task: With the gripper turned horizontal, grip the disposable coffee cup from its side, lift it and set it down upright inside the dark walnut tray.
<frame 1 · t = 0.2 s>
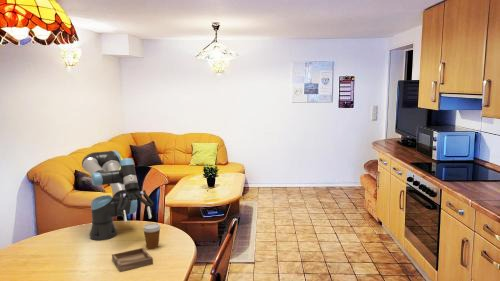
hand: (138, 220, 222), 15 cm above the table, tool tilted 35°, fingers open, 13 cm apart
walnut tray: (132, 262, 204), on the table
disposable coffee cup: (152, 247, 223), on the table
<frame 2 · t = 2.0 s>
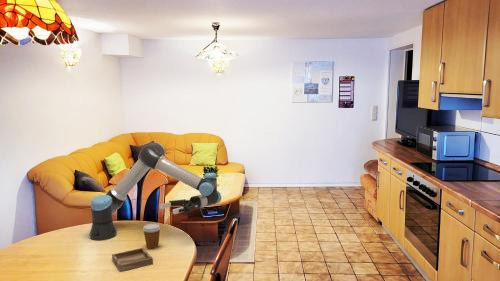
hand: (166, 209, 227), 19 cm above the table, tool horizontal, fingers open, 13 cm apart
nothing on the table moved.
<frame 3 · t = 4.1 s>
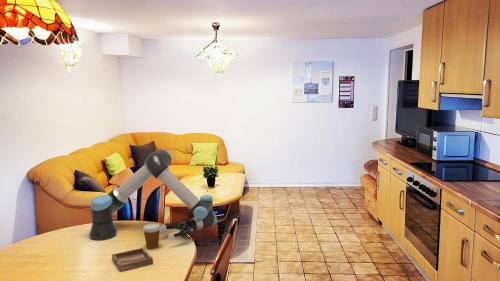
hand: (162, 233, 226), 6 cm above the table, tool horizontal, fingers open, 13 cm apart
nothing on the table moved.
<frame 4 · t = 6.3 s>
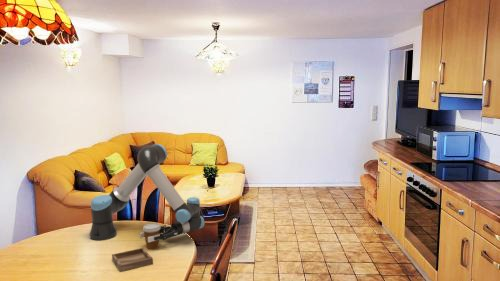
hand: (144, 237, 219), 7 cm above the table, tool horizontal, fingers closed on disposable coffee cup, 8 cm apart
disposable coffee cup: (152, 247, 223), on the table, touching gripper
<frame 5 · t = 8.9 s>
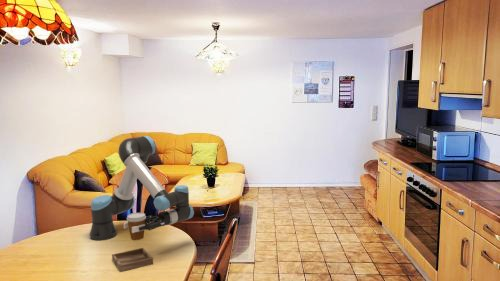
hand: (128, 228, 202), 18 cm above the table, tool horizontal, fingers closed on disposable coffee cup, 8 cm apart
disposable coffee cup: (137, 238, 206), point 11 cm above the table, touching gripper
when the fingers open (9 cm above the table, at t = 11.4 s): disposable coffee cup drops 1 cm, resting on walnut tray.
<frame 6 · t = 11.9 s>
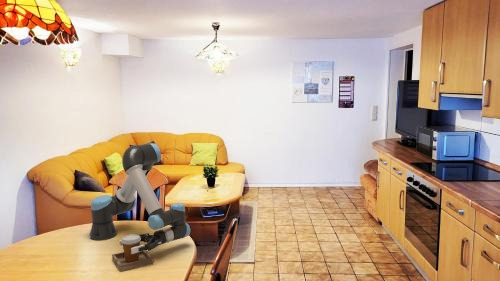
hand: (125, 247, 201), 9 cm above the table, tool horizontal, fingers open, 13 cm apart
disposable coffee cup: (132, 260, 205), point 1 cm above the table, touching walnut tray
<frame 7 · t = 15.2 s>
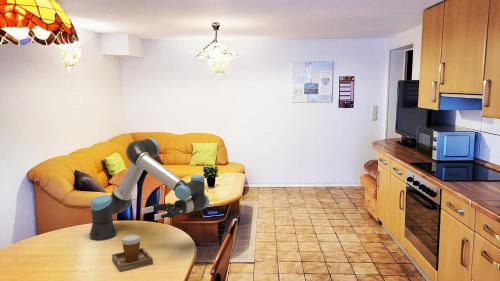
hand: (148, 214, 208), 23 cm above the table, tool horizontal, fingers open, 13 cm apart
nothing on the table moved.
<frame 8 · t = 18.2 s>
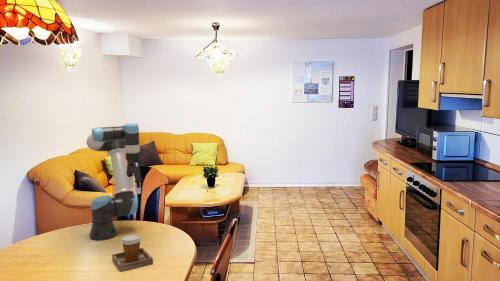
hand: (134, 190, 220), 32 cm above the table, tool pointing down, fingers open, 13 cm apart
nothing on the table moved.
at the end: disposable coffee cup inside the target area on the walnut tray (0.5 cm from its centre), point 0.6 cm above the walnut tray's base; disposable coffee cup tilted 0°; the gripper is holding nothing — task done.
